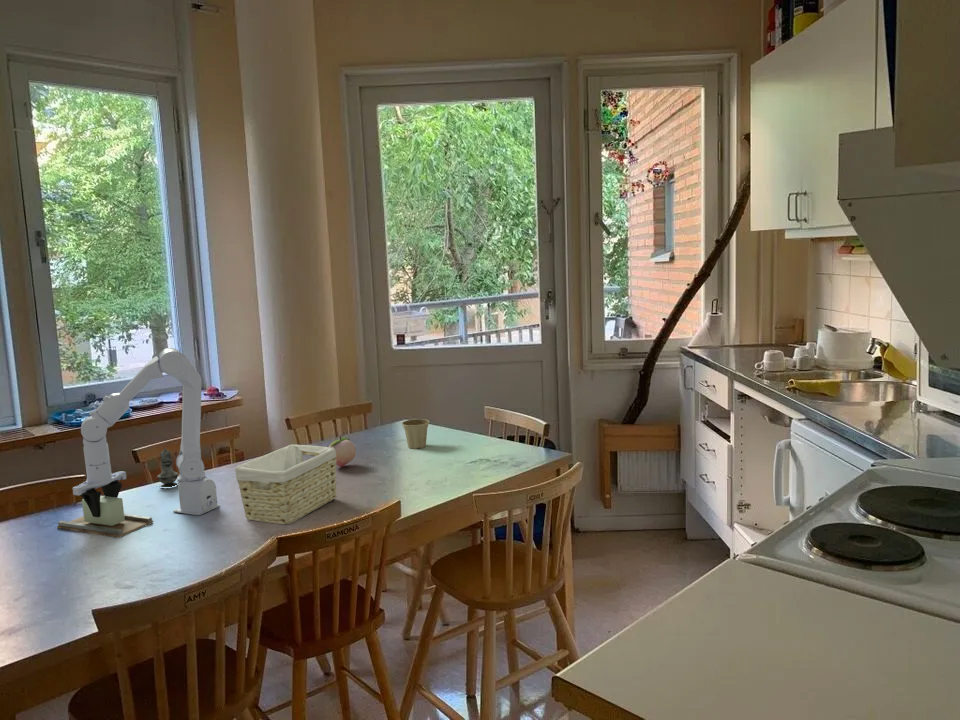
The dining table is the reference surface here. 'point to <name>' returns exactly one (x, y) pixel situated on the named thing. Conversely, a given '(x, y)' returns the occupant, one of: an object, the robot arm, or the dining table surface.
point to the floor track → (116, 530)
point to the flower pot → (416, 432)
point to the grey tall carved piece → (167, 470)
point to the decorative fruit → (343, 451)
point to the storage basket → (287, 483)
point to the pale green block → (106, 511)
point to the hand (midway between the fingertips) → (104, 513)
